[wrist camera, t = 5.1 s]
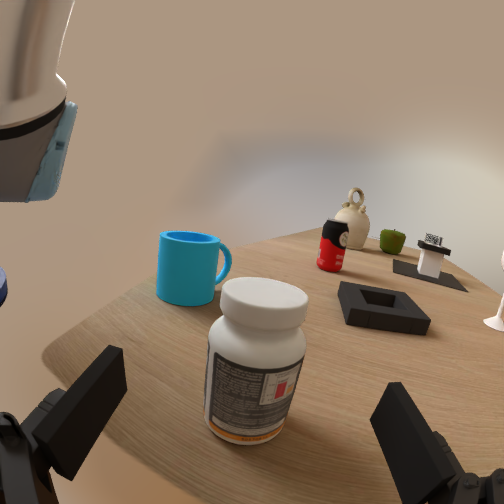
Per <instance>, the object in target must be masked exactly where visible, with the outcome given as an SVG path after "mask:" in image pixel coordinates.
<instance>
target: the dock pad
mask: <svg viewBox="0 0 504 504" xmlns="http://www.w3.org/2000/svg"><path fill="white" fill-rule="evenodd" d="M338 297H339V300H340V304H341V307H342V311H343V314H344V318H345V322H346V324H348V325H354V326H360V327H367V328H374V329H381V330H388V331H395V332H403V333H410V334H418V335H426V333H427V330H428V328H429V325H430V322H431V319H430V318H429V317H428V316H427V315H426V314H425V313H424V312H423V311H422V310H421V309H420V308H419V307H418V305H417V304H416V303H415V302H414V301H413V300H412V299H411V298H410V297H409V296H408V295H407V294H406V293H405V292H399V291H394V290H388V289H383V288H377V287H371V286H366V285H360V284H355V283H349V282H344V281H341V282H340V286H339V290H338Z"/></svg>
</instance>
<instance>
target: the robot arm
mask: <svg viewBox="0 0 504 504" xmlns="http://www.w3.org/2000/svg"><path fill="white" fill-rule="evenodd" d="M74 2H75V0H0V202H25V203H28V202H29V201H40V200H48V199H50V198H51V197H53V196H54V194H55V193H56V192H57V189H58V186H59V182H60V178H61V174H62V170H63V165H64V161H65V156H66V152H67V148H68V144H69V140H70V136H71V133H72V129H73V125H74V121H75V118H76V113H77V105H76V104H74V103H72V102H70V101H68V102H65V99H66V92H67V86H66V83H65V82H64V80H62V79H61V78H60V77H59V76H58V75H57V74H56V72H57V66H58V61H59V56H60V52H61V47H62V43H63V39H64V35H65V31H66V27H67V24H68V20H69V17H70V14H71V11H72V8H73V5H74ZM126 392H127V383H126V376H125V368H124V359H123V349H122V348H118V347H115V346H112V345H108V346H107V347H106V349H105V350H104V351H103V352H102V353H101V354H100V355H99V356H98V357H97V358H96V359H95V360H94V361H93V363H92V364H91V365H90V366H89V367H88V368H87V369H86V370H85V371H84V372H83V373H82V375H81V376H80V377H79V378H78V379H77V380H76V381H75V382H74V384H73V385H72V386H71V387H70V388H69V389H68V390H67V391H64V390H62V389H60V388H58V389H56V390H54V391H52V392H50V393H49V394H48V395H47V396H46V397H45V398H44V399H43V401H41V402H40V403H39V405H38V407H36V408H35V409H34V410H33V411H32V412H31V413H30V414H29V416H28V417H27V418H26V419H25V420H24V421H23V422H22V423H21V425H19V423H18V421H17V419H16V418H15V417H14V416H13V415H12V414H10V413H6V412H0V504H59V502H58V499H57V496H56V493H55V489H54V486H53V483H52V479H51V475H50V473H49V469H50V468H51V466H52V467H53V469H54V470H55V472H56V473H57V474H59V475H61V476H63V477H64V478H66V479H68V480H70V481H72V480H73V479H74V477H75V475H76V474H77V472H78V470H79V468H80V467H81V465H82V463H83V462H84V460H85V458H86V457H87V455H88V453H89V451H90V450H91V448H92V447H93V445H94V443H95V442H96V440H97V438H98V437H99V435H100V433H101V432H102V430H103V429H104V427H105V425H106V424H107V422H108V420H109V419H110V417H111V416H112V414H113V412H114V411H115V409H116V408H117V406H118V404H119V403H120V401H121V400H122V398H123V397H124V395H125V393H126ZM370 422H371V424H372V427H373V429H374V432H375V434H376V436H377V439H378V441H379V444H380V446H381V449H382V451H383V454H384V456H385V459H386V461H387V464H388V466H389V469H390V471H391V474H392V477H393V479H394V482H395V485H396V487H397V490H398V493H399V495H400V498H401V501H402V503H403V504H425V503H426V502H427V501H428V504H504V469H501V468H499V469H496V470H495V471H494V472H493V473H492V474H491V475H490V476H488V477H481V478H479V477H478V476H477V475H476V474H474V473H465V472H464V470H463V468H462V467H461V465H460V463H459V462H458V460H457V458H456V457H455V455H454V453H453V452H451V448H450V447H449V446H448V443H447V442H446V440H445V439H444V437H443V436H442V435H441V434H439V433H438V432H437V431H435V432H432V430H431V429H430V427H429V426H428V424H427V422H426V421H425V419H424V417H423V416H422V414H421V413H420V411H419V410H418V408H417V406H416V405H415V403H414V402H413V400H412V399H411V397H410V395H409V394H408V392H407V391H406V389H405V388H404V386H403V385H402V383H401V382H391V383H388V385H387V387H386V389H385V391H384V393H383V395H382V397H381V399H380V401H379V403H378V405H377V407H376V409H375V411H374V413H373V414H372V416H371V418H370Z"/></svg>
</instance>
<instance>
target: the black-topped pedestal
mask: <svg viewBox="0 0 504 504" xmlns="http://www.w3.org/2000/svg"><path fill="white" fill-rule="evenodd" d="M426 234H427V233H426ZM426 234H425V237H426ZM427 235H428V234H427ZM428 237H430V236H428ZM437 237H438V239H437V240H436V242H437V245H436V242H435V241H434V244H433V243H430V242H426V241H425V239H426V238H425V239H424V241H421V240H418V246H419V247H420V248H422V250H421V255H420V259H419V263H418V265H414V264H410V263H407V262H403V261H399V260H395V259H393V272H395V273H399V274H403V275H407V276H411V277H414V278H418V279H422V280H426V281H430V282H433V283H437V284H441V285H445V286H448V287H452V288H456V289H459V290H463V291H467V290H466V289H465V288H464V287H463V286H462V285H461V284H460V283H459V282H458V280H457V279H456V278H455V277H454V276H453V275H452V274H448V273H444V272H441V271H440V270H441V266H442V262H443V257H444V254H445V255H448V256H450V253H451V250H449V249H447V248H445V247H442V242H443V238H441V237H439V236H437ZM439 238H440V239H439ZM430 239H431V238H430ZM432 239H433V240H435V239H434V238H432ZM438 240H439V243H438ZM427 241H428V240H427ZM429 241H430V240H429ZM467 292H468V291H467Z"/></svg>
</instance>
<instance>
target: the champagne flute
mask: <svg viewBox="0 0 504 504" xmlns="http://www.w3.org/2000/svg"><path fill="white" fill-rule="evenodd" d="M501 264H502V268H503V271H504V252H503V255H502V259H501ZM503 309H504V294H503V298H502V301H501V304H500V307H499V310H498V313H497V316H494V317H491V318H487V319H484V320H483V321H484V323H485V324H486V325H488V326H489V327H491V328H493V329H496V330H499V331H503V332H504V323H503V321H502V319H501V315H502V312H503Z"/></svg>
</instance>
